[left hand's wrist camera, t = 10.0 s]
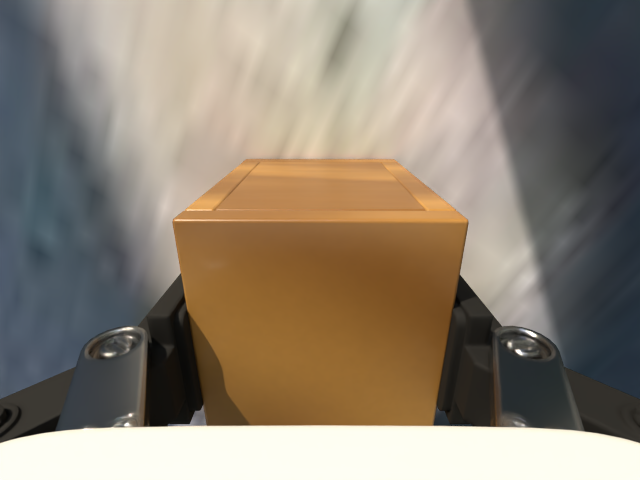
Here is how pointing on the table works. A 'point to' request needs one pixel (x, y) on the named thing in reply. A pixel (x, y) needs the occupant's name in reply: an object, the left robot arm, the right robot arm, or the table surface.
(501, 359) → the left robot arm
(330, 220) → the cabinet
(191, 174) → the table surface
